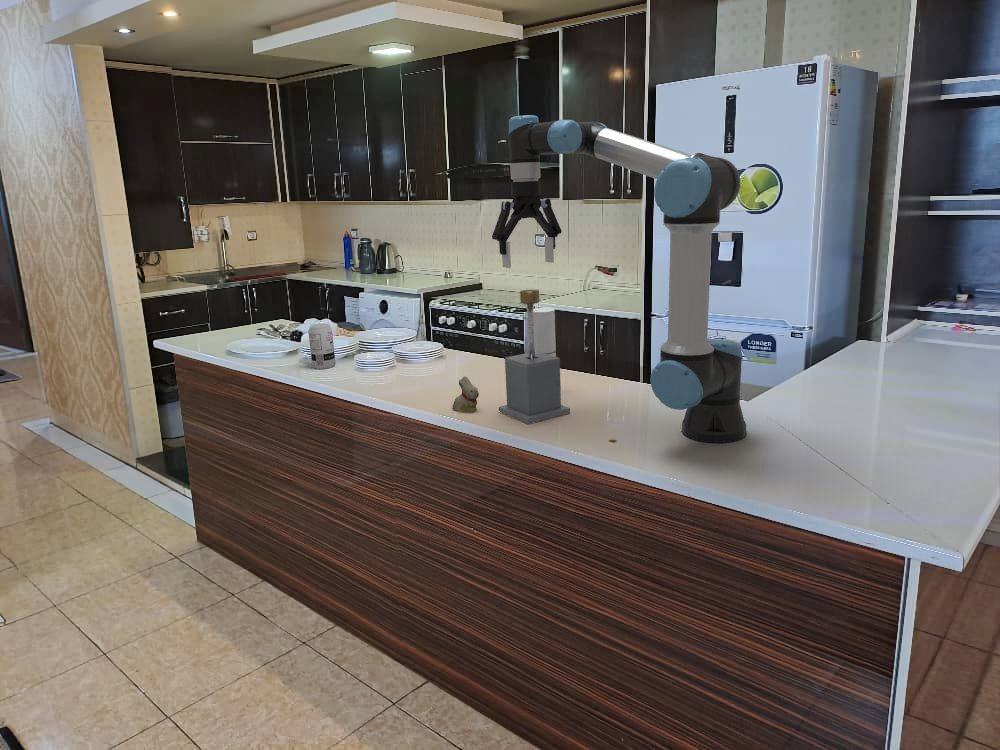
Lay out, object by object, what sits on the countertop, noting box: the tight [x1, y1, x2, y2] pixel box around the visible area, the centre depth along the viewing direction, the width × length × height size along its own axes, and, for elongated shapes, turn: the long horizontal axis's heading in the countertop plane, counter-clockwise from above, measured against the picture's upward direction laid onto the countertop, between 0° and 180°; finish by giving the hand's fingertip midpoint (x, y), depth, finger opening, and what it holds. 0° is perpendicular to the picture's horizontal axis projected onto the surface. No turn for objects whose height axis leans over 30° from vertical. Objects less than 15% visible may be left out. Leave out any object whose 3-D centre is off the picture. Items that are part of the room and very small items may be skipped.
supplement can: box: [307, 323, 336, 370], centre depth 263 cm, size 8×8×15 cm
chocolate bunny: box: [452, 375, 480, 413], centre depth 206 cm, size 6×8×10 cm
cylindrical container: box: [533, 307, 557, 357], centre depth 217 cm, size 7×7×25 cm
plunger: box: [519, 289, 540, 360], centre depth 196 cm, size 8×8×20 cm
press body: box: [498, 351, 571, 425], centre depth 200 cm, size 14×14×16 cm
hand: (528, 264), depth 192 cm, fingers open, 13 cm apart
